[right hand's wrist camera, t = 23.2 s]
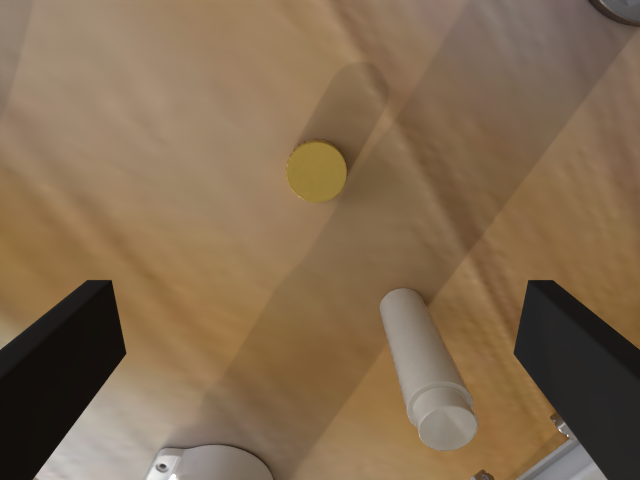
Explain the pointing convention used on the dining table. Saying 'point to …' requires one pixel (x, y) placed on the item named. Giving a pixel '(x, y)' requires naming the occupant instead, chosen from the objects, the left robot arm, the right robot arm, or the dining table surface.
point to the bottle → (427, 373)
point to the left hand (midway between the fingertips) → (517, 450)
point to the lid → (316, 171)
